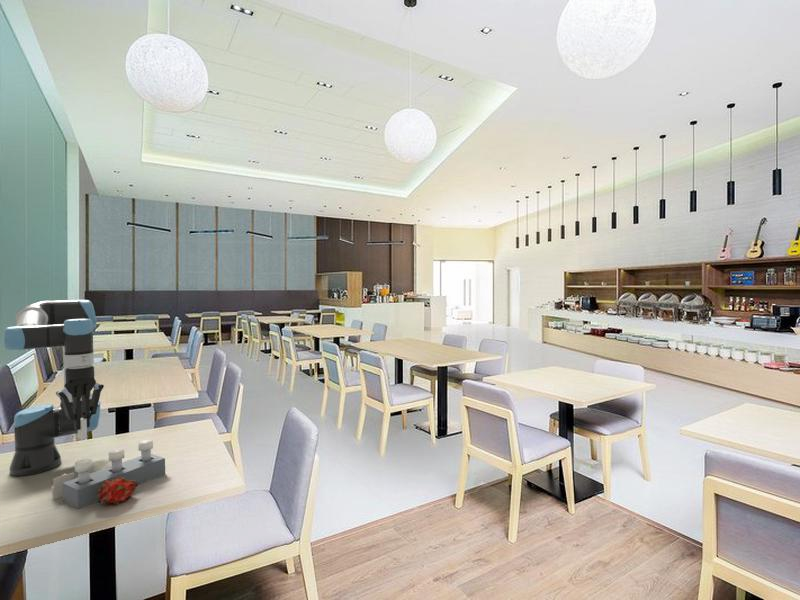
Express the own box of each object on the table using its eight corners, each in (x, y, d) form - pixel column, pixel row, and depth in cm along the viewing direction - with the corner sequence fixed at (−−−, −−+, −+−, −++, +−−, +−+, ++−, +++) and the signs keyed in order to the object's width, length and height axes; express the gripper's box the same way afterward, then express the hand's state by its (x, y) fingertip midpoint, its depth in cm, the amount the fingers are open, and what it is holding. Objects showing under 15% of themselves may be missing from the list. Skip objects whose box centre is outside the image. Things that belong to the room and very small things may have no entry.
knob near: (72, 487, 139) (71, 462, 139) (88, 481, 143) (87, 457, 143) (79, 490, 137) (78, 465, 136) (95, 484, 141) (94, 460, 140)
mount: (63, 501, 139) (62, 482, 139) (149, 468, 163) (149, 453, 163) (78, 508, 134) (77, 489, 134) (165, 474, 158) (164, 458, 158)
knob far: (136, 464, 156) (135, 442, 156) (149, 459, 160) (148, 438, 160) (143, 467, 154) (142, 445, 154) (156, 462, 158) (155, 441, 158)
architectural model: (50, 497, 142) (50, 475, 142) (76, 489, 148) (75, 468, 147) (53, 500, 140) (52, 478, 140) (79, 492, 146) (78, 471, 145)
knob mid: (106, 475, 148) (105, 452, 147) (120, 470, 152) (119, 447, 151) (113, 478, 145) (112, 454, 145) (127, 472, 149) (126, 450, 149)
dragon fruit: (92, 513, 134) (135, 504, 143) (101, 504, 130) (144, 495, 139) (90, 486, 138) (132, 479, 147) (99, 476, 134) (141, 469, 143)
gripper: (61, 371, 131) (64, 447, 132) (107, 364, 142) (110, 434, 143) (50, 369, 135) (53, 443, 135) (96, 362, 146) (98, 430, 147)
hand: (82, 438), depth 139 cm, fingers closed
